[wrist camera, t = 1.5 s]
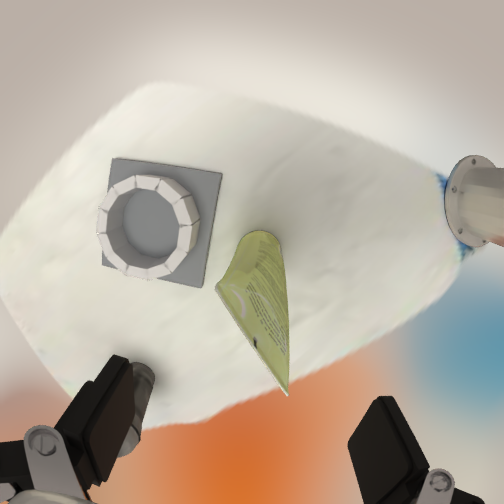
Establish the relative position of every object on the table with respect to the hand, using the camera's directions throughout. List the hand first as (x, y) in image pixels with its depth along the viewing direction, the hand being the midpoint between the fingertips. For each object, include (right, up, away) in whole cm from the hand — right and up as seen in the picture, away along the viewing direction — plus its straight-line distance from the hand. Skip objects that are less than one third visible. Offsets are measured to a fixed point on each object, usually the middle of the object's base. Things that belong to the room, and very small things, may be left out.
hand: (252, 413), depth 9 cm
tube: (+1, +6, +23) cm, 24 cm away
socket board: (-11, +9, +22) cm, 27 cm away
